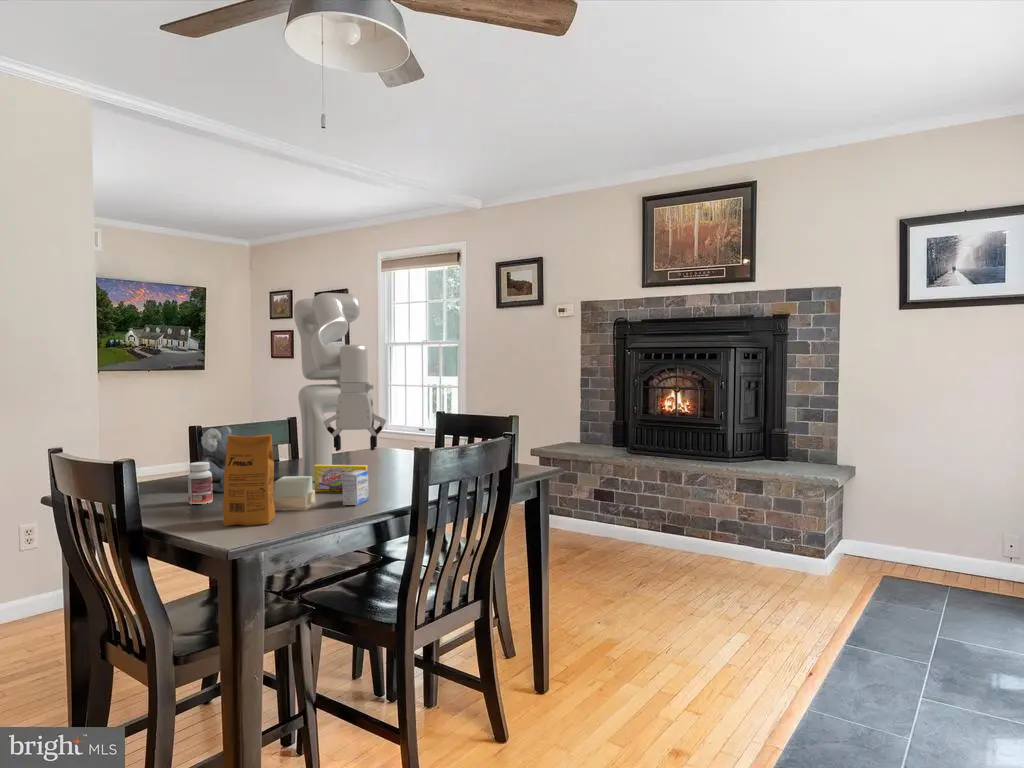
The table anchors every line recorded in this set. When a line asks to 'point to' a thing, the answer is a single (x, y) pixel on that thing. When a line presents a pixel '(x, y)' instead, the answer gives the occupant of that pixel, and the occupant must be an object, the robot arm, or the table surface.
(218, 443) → the koala plush
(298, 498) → the maple block
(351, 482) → the medicine box
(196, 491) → the pill bottle
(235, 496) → the coffee package
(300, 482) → the sage block
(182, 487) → the table surface
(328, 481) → the candy box
